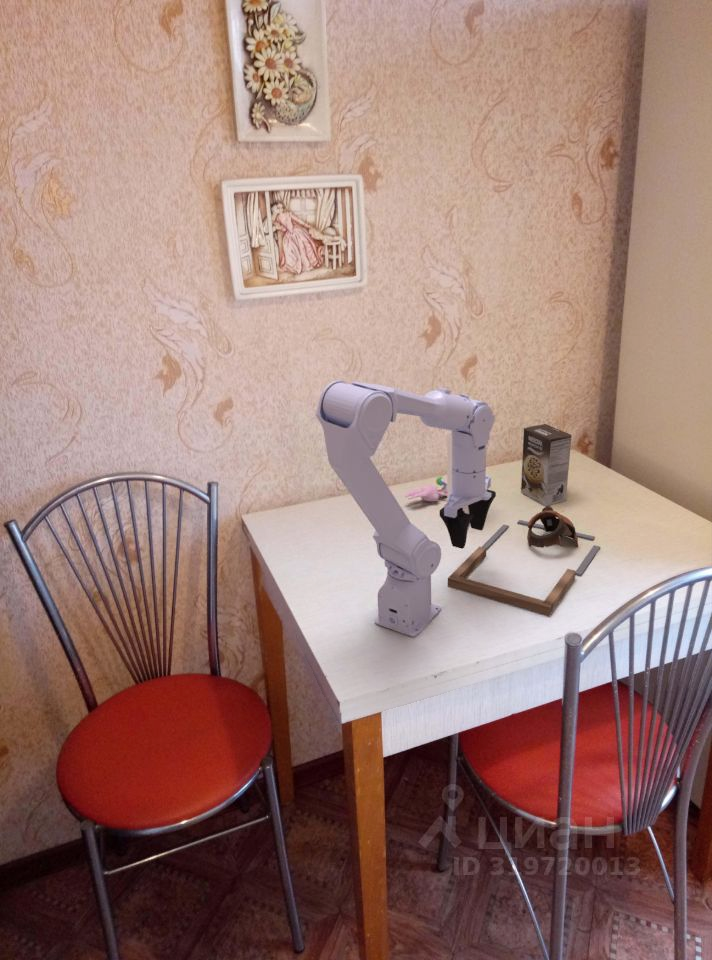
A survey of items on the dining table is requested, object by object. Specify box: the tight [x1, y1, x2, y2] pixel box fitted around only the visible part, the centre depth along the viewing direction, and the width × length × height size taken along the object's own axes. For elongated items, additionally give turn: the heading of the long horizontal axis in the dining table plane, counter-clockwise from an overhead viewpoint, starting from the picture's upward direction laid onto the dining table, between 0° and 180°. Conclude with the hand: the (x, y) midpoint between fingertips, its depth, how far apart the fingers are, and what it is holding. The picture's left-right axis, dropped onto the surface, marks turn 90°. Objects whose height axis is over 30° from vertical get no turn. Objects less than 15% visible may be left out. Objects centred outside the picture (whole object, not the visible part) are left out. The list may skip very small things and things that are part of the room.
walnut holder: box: [447, 546, 576, 617], centre depth 124 cm, size 14×19×2 cm
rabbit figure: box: [404, 476, 447, 503], centre depth 158 cm, size 6×6×15 cm
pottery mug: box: [526, 505, 579, 549], centre depth 136 cm, size 12×10×8 cm
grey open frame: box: [481, 519, 601, 577], centre depth 136 cm, size 16×20×1 cm
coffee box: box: [520, 423, 573, 507], centre depth 154 cm, size 9×6×16 cm
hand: (467, 537), depth 121 cm, fingers open, 7 cm apart
